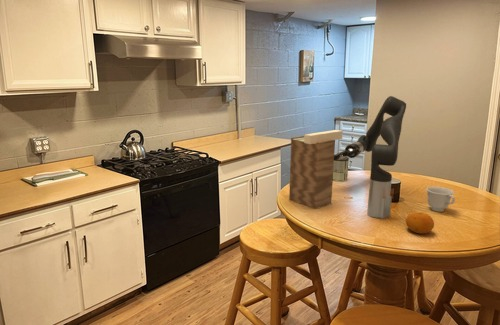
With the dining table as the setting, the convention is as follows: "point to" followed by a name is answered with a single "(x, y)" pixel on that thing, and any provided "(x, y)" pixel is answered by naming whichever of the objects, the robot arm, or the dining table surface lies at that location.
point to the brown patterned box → (311, 172)
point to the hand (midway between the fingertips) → (341, 156)
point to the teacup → (439, 198)
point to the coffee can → (340, 169)
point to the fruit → (419, 222)
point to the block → (322, 136)
